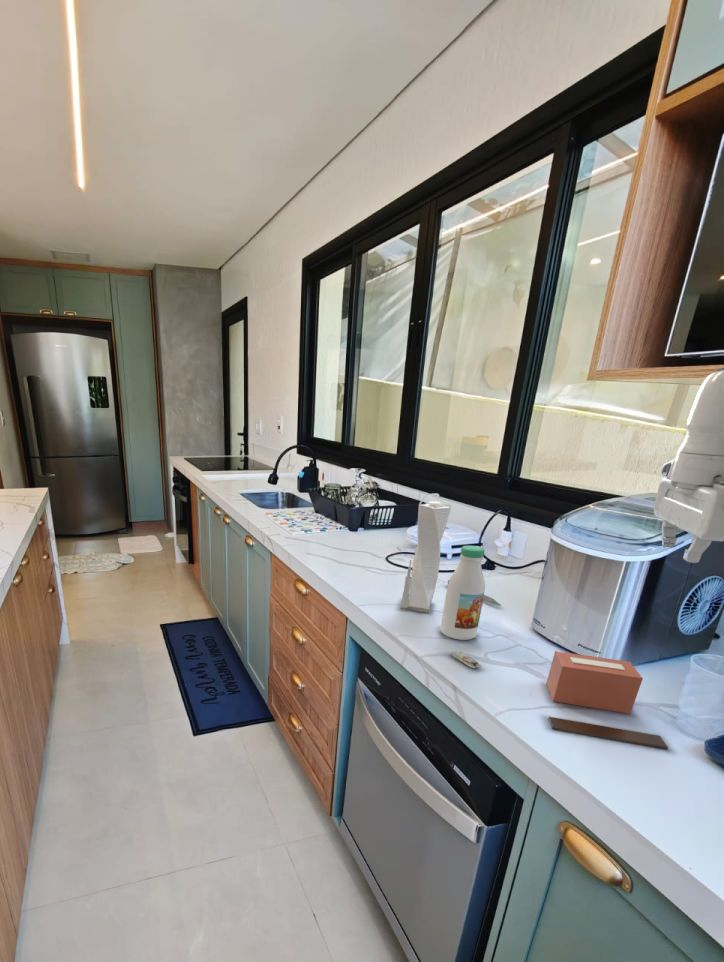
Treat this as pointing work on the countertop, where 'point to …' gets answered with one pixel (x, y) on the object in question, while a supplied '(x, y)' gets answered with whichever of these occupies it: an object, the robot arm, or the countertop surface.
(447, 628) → the milk bottle
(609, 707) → the tissue box
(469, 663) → the granola bar
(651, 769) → the countertop surface
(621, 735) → the walnut ruler
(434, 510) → the skyscraper
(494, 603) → the kitchen knife
